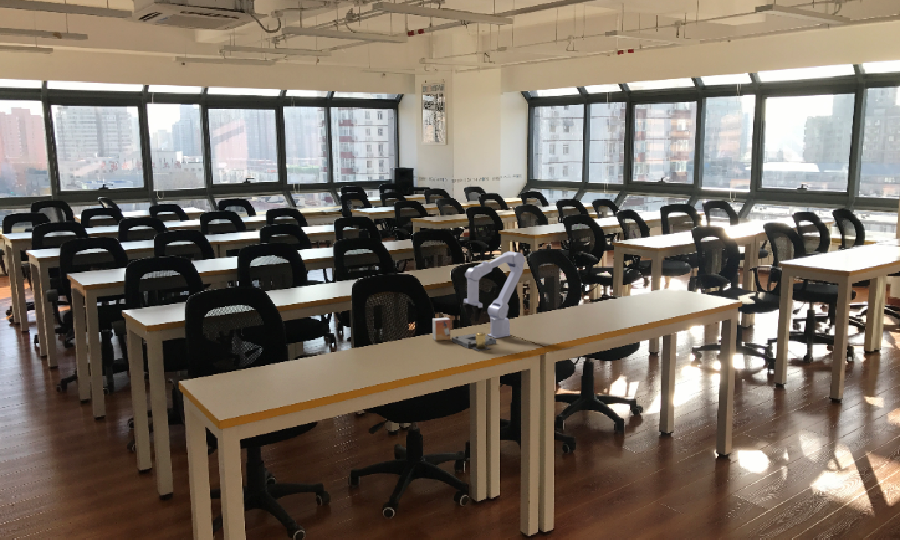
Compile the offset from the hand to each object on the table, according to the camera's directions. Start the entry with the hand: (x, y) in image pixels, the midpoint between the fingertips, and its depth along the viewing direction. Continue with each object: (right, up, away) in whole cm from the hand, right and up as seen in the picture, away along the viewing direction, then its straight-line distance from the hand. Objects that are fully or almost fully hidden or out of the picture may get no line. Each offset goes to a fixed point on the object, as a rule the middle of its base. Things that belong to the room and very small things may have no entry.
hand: (472, 319), depth 354 cm
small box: (-15, -10, +4) cm, 19 cm away
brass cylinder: (+3, -12, -16) cm, 20 cm away
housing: (0, -11, -3) cm, 12 cm away
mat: (+3, -13, -16) cm, 20 cm away
